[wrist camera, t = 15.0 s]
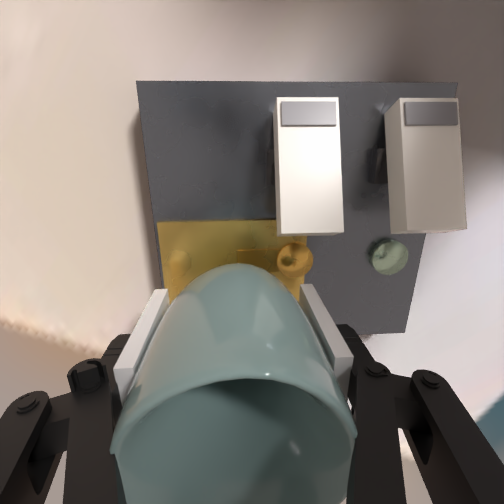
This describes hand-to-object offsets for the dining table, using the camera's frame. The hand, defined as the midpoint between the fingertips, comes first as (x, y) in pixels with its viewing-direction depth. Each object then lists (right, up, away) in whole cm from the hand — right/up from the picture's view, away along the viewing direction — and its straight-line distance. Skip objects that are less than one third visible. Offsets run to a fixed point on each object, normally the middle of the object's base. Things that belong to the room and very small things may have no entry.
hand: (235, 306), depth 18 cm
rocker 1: (+4, +8, -2) cm, 9 cm away
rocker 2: (+10, +8, -2) cm, 13 cm away
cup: (0, 0, 0) cm, 0 cm away
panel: (+4, +6, +4) cm, 8 cm away
